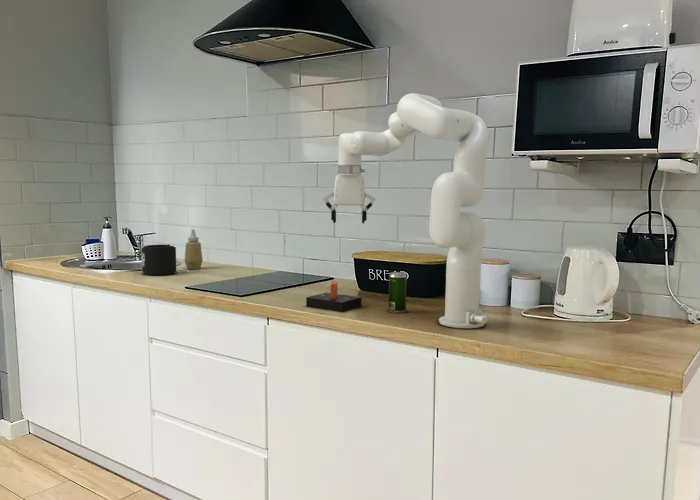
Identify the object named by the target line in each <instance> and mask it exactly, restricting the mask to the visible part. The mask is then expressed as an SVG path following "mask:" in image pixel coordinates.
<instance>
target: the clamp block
mask: <svg viewBox="0 0 700 500" xmlns="http://www.w3.org/2000/svg"><path fill="white" fill-rule="evenodd" d="M362 302H363V301H362V296H355V295H347V294H343V293H342V294H339V293H337V297H336V299H331V292H323V293H319V294H314V295H310V296H306V297H305V306H306V307H307V308H313V309H320V310H327V311H332V312H339V313H344V312H347V311H350V310H354V309H357V308H360V307H361V308H362Z"/></svg>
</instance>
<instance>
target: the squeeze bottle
mask: <svg viewBox="0 0 700 500" xmlns="http://www.w3.org/2000/svg"><path fill="white" fill-rule="evenodd" d="M199 239H200V238H199V236H198V237H197V234H196V231H195V229H191V231H190V236H189V237H187V242H186V243H185V251H184V264H185V267H186V269H188V270H199V269H201V267H202V265H203V261H204V259H203V252H202V243H201V242H200V240H199Z"/></svg>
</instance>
